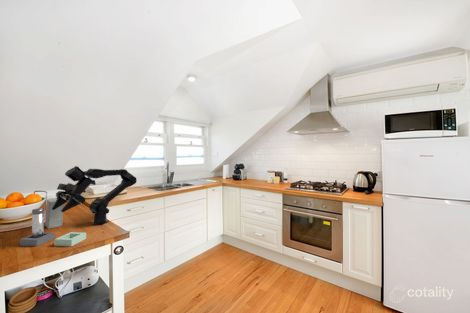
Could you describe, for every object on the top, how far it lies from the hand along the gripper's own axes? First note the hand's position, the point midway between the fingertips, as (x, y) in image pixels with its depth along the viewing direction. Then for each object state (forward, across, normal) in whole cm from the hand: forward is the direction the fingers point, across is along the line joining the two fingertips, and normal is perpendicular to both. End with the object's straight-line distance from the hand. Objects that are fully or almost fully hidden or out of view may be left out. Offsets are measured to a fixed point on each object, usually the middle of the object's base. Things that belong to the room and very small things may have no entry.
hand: (57, 210), depth 102 cm
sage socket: (+10, +14, +9) cm, 20 cm away
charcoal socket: (+15, 0, +4) cm, 15 cm away
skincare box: (+5, -20, +15) cm, 25 cm away
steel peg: (+15, 0, +4) cm, 15 cm away
